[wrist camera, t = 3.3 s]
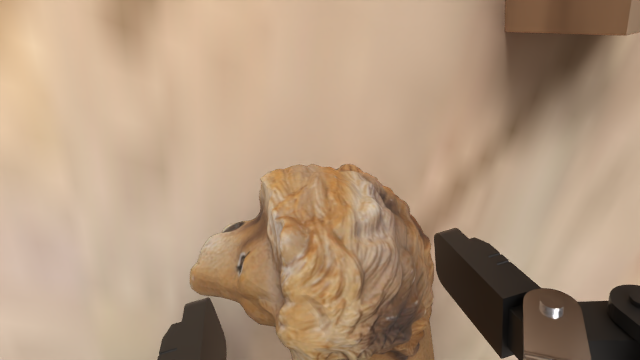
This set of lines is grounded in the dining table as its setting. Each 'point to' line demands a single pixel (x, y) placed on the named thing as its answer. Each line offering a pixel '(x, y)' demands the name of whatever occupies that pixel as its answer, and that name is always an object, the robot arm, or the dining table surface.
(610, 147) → the dining table surface
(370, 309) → the lion figurine
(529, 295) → the robot arm
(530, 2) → the walnut block
